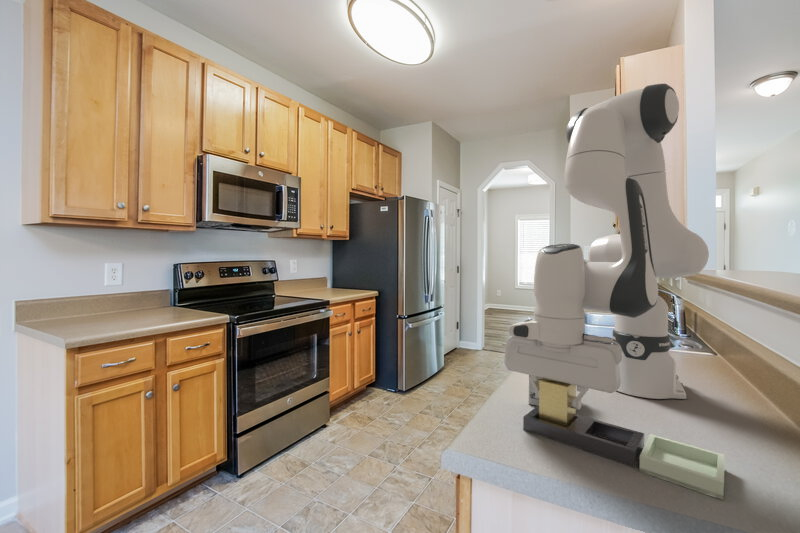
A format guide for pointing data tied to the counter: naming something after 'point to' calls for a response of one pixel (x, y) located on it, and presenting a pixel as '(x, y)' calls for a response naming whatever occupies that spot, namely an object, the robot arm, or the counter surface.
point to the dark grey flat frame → (590, 437)
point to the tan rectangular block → (556, 402)
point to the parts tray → (684, 465)
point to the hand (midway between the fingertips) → (557, 403)
